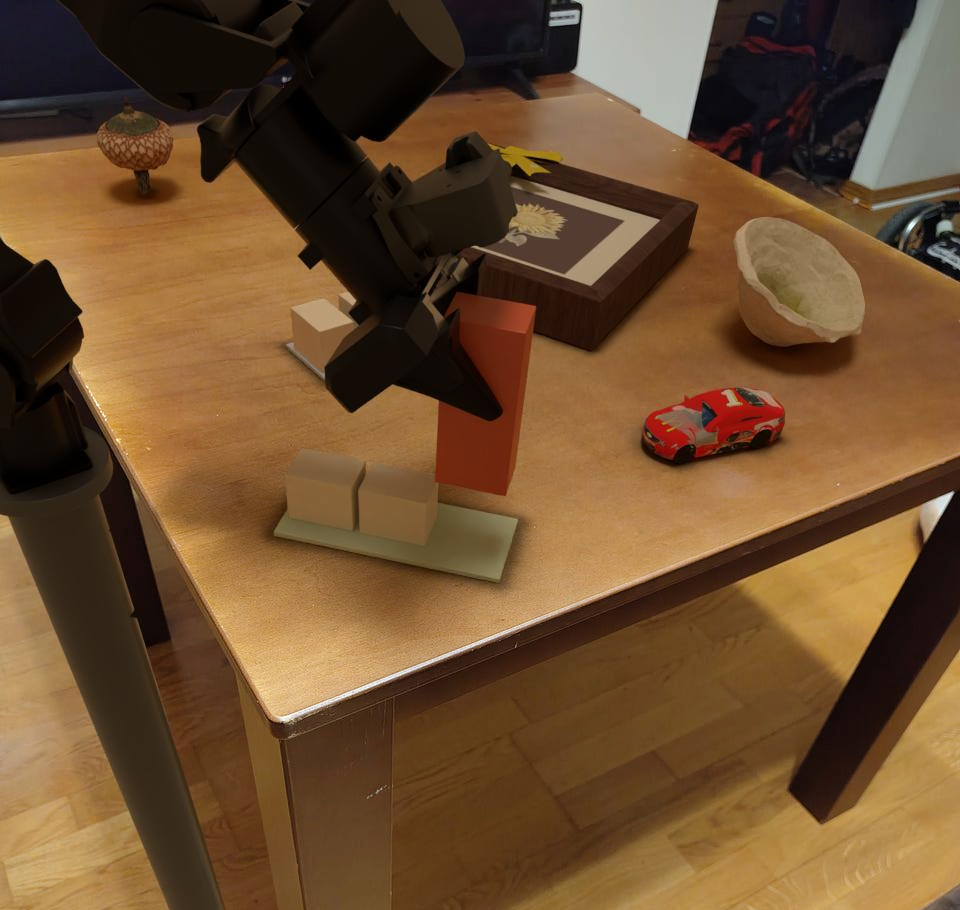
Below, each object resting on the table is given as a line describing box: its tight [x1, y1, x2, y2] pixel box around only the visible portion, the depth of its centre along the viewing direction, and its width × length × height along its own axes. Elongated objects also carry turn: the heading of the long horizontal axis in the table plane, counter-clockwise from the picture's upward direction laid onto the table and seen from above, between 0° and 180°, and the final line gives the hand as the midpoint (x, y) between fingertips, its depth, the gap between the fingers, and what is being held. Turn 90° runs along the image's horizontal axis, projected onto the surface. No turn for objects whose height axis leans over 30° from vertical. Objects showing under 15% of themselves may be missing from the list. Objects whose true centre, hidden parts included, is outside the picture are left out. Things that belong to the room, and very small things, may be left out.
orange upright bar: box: [434, 292, 536, 497], centre depth 57 cm, size 5×4×12 cm
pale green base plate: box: [273, 447, 519, 584], centre depth 65 cm, size 17×7×4 cm, turn 77°
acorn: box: [96, 97, 174, 195], centre depth 100 cm, size 8×8×10 cm
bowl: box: [733, 216, 866, 348], centre depth 87 cm, size 15×14×10 cm
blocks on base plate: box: [285, 290, 359, 382], centre depth 83 cm, size 16×7×4 cm, turn 128°
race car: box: [640, 387, 786, 465], centre depth 76 cm, size 13×5×4 cm, turn 111°
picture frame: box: [412, 141, 699, 351], centre depth 97 cm, size 28×7×30 cm
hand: (503, 401), depth 57 cm, fingers closed on orange upright bar, 3 cm apart
